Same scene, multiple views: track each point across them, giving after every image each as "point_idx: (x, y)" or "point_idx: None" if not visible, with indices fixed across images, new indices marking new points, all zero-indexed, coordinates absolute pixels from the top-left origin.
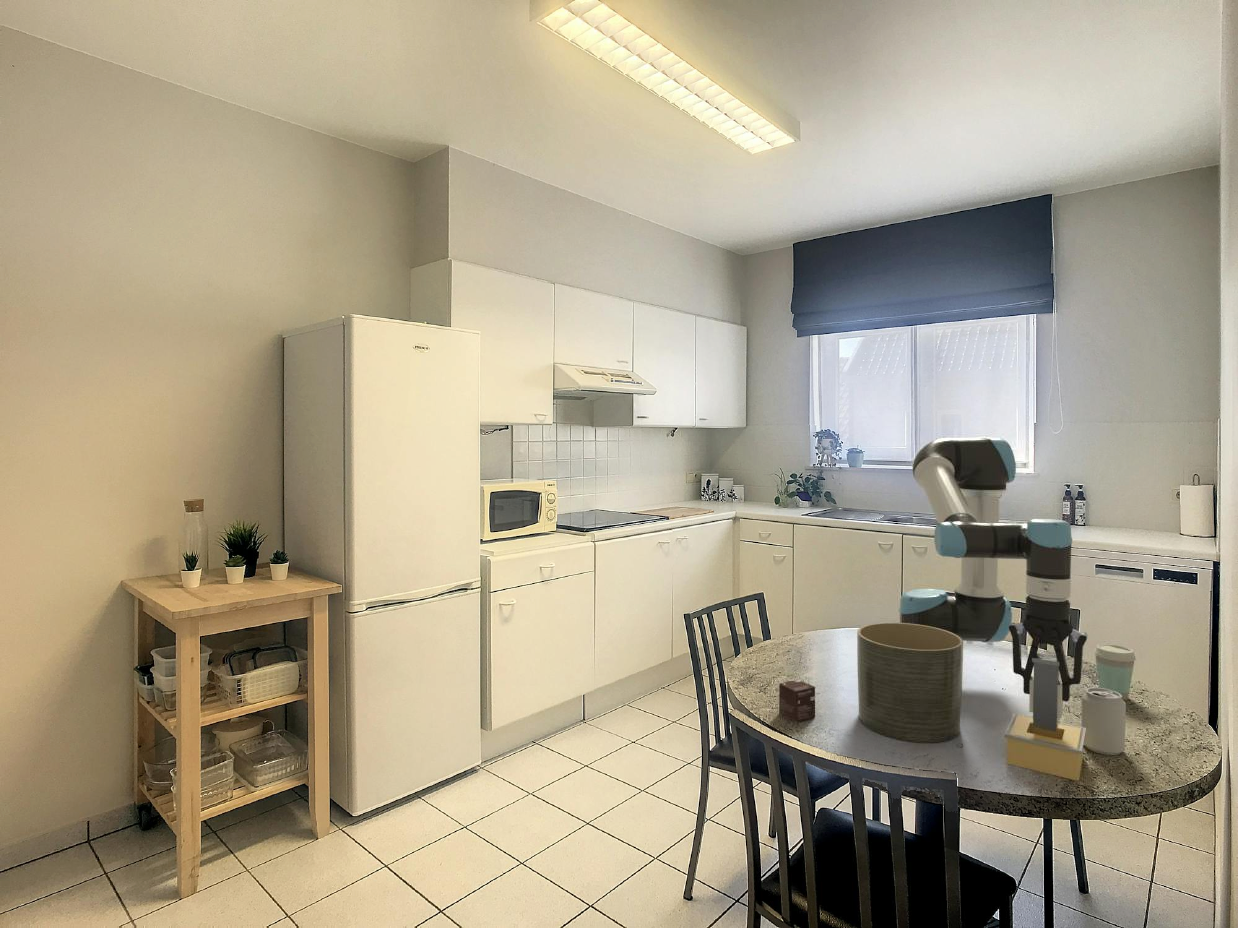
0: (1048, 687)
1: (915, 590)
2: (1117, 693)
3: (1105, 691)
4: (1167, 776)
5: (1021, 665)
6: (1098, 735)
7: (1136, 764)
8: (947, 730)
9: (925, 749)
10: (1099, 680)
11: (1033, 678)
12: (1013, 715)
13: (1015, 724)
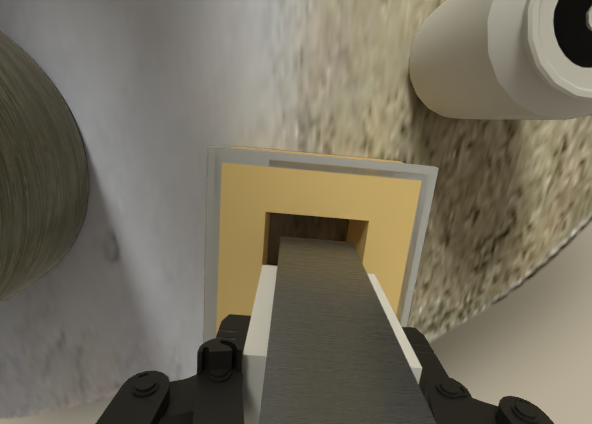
0: None
1: None
2: None
3: None
4: (577, 177)
5: (158, 408)
6: (467, 116)
7: (523, 136)
8: (57, 251)
9: (50, 313)
10: None
11: (256, 388)
12: (209, 173)
13: (224, 256)
